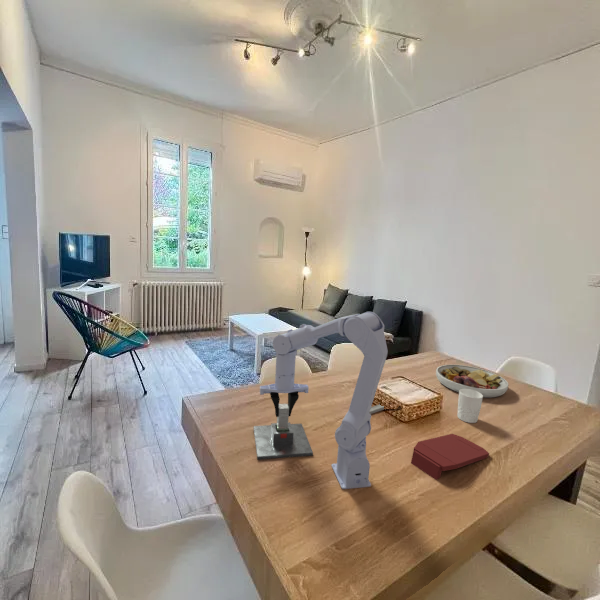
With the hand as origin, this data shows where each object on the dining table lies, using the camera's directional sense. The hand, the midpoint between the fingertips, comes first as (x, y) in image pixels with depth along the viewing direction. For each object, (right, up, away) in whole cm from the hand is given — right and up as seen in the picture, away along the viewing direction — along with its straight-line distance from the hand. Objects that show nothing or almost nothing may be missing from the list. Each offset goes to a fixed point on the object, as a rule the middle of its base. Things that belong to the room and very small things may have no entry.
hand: (282, 415), depth 102 cm
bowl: (+84, -5, +55) cm, 101 cm away
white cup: (+67, -9, +23) cm, 72 cm away
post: (0, -5, +1) cm, 5 cm away
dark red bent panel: (+50, -13, -1) cm, 52 cm away
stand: (-1, -9, +1) cm, 9 cm away
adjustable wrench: (+33, -7, +25) cm, 42 cm away
